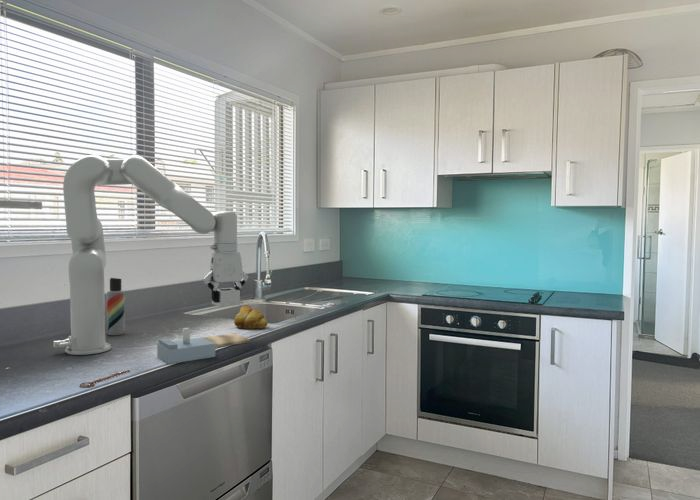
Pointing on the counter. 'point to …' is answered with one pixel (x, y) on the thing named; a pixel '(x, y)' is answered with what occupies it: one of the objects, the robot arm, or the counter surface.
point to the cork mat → (227, 339)
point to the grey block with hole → (228, 297)
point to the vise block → (185, 349)
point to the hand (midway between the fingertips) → (226, 300)
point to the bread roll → (250, 318)
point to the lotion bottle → (115, 308)
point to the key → (102, 379)
